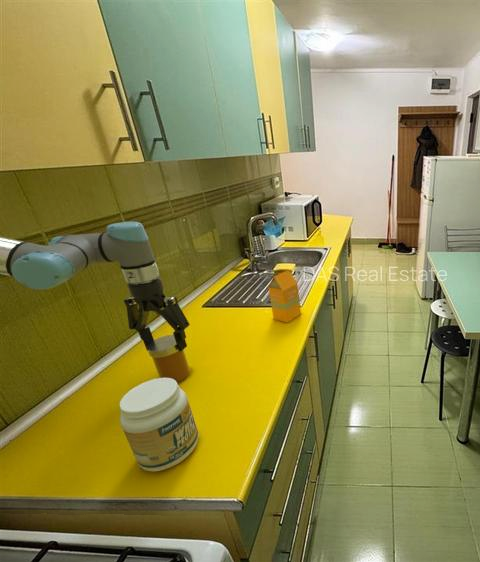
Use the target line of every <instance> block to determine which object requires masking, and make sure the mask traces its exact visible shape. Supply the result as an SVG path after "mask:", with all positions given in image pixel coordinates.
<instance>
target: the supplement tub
mask: <svg viewBox="0 0 480 562" xmlns="http://www.w3.org/2000/svg"><path fill="white" fill-rule="evenodd" d="M119 409H120V418H119V423H120V428H121V429H122V431H123V433H124V436H125V437H126V440H127V442H128V445H129V447H130V449H131V452H132V454H133V456H134V458H135V460H136V463H137V465H138V467H140V468H141V469H143V470H144V471H148V472H160V471H164V470H168V469H170V468H173V467H175V466H176V465H178V464H180V463H181V462H183V461H184V460H185V459H186V458H187V457H189V456H190V454H192V453H193V451H194V450H195V449H196V447H197V445H198V442H199V430H198V427H197V424H196V421H195V417H194V414H193V411H192V409H191V405H190V402H189V398H188V395H187V394H186V392H185V391H184V390H183V389H181V387H180V385H179V383H177V382H176V381H175V380H174V379H172V378H159V377H158V378H153V379H150V380H146V381H144V382H142V383H140V384H138V385H136V386H135V387H133V388H132V389H130V390H128V392H126V393H125V394H124V395H123V397H121V399H120V402H119Z"/></svg>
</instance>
